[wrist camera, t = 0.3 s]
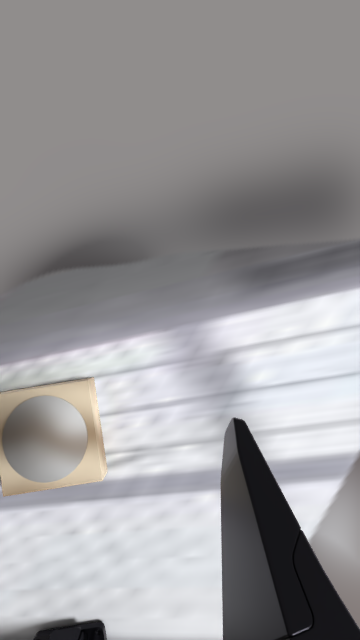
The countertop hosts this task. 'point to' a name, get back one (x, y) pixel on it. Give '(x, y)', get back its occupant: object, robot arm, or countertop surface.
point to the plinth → (50, 437)
